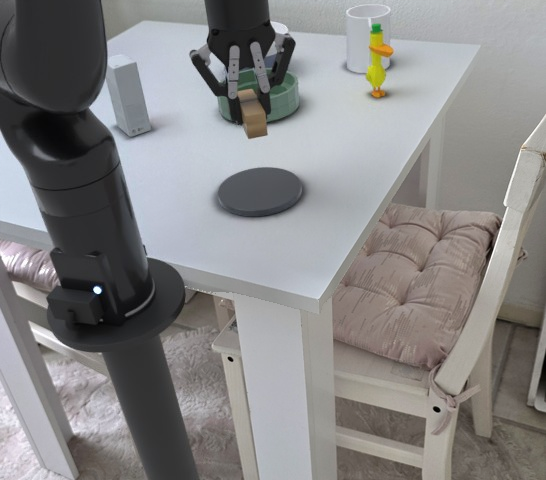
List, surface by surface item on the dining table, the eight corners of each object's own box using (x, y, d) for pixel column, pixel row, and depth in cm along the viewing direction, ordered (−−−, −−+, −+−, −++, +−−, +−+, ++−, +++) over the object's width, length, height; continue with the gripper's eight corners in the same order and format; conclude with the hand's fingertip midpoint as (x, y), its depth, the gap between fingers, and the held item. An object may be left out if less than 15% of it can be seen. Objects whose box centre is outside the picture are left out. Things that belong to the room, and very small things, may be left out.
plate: (288, 220, 89) (288, 213, 88) (206, 213, 92) (205, 206, 92) (310, 175, 97) (310, 169, 97) (234, 170, 101) (233, 164, 100)
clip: (268, 135, 85) (266, 111, 83) (247, 140, 85) (244, 116, 83) (255, 110, 91) (252, 87, 89) (235, 114, 91) (232, 91, 89)
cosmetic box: (152, 130, 115) (137, 61, 107) (130, 138, 113) (112, 69, 105) (138, 119, 119) (123, 52, 111) (116, 126, 117) (99, 59, 109)
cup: (348, 82, 122) (346, 27, 116) (346, 58, 132) (345, 6, 125) (392, 79, 122) (394, 23, 115) (388, 55, 131) (389, 2, 124)
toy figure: (398, 98, 115) (400, 27, 107) (382, 104, 114) (383, 33, 106) (375, 86, 120) (375, 18, 112) (359, 92, 119) (358, 23, 111)
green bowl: (287, 127, 110) (284, 102, 107) (208, 124, 114) (204, 99, 111) (308, 92, 120) (306, 68, 118) (235, 90, 124) (232, 67, 122)
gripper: (178, -1, 73) (203, 142, 84) (300, -22, 75) (309, 121, 86) (170, -18, 79) (195, 118, 90) (284, -37, 80) (295, 99, 91)
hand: (251, 119), depth 88 cm, fingers closed on clip, 2 cm apart
